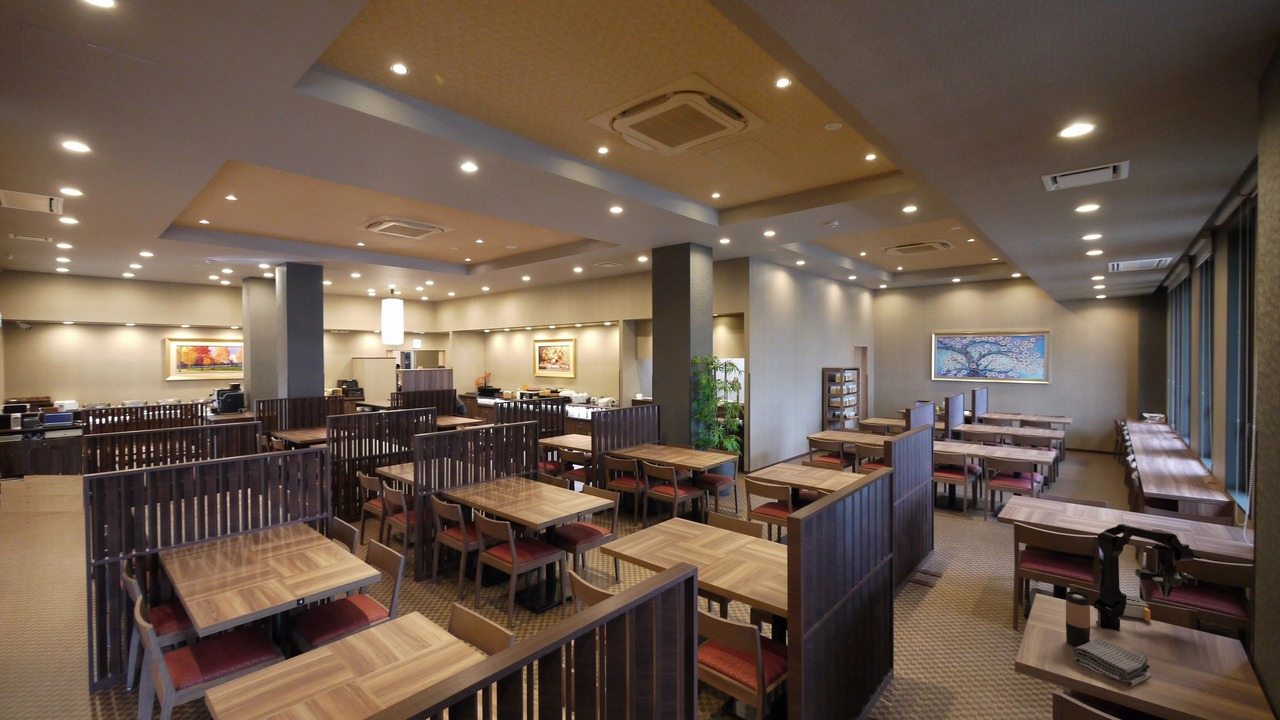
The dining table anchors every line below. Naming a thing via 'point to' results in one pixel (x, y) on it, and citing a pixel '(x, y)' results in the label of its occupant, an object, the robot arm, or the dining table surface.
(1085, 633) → the travel mug
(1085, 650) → the towel
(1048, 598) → the dining table surface
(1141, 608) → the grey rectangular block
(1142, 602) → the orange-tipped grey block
